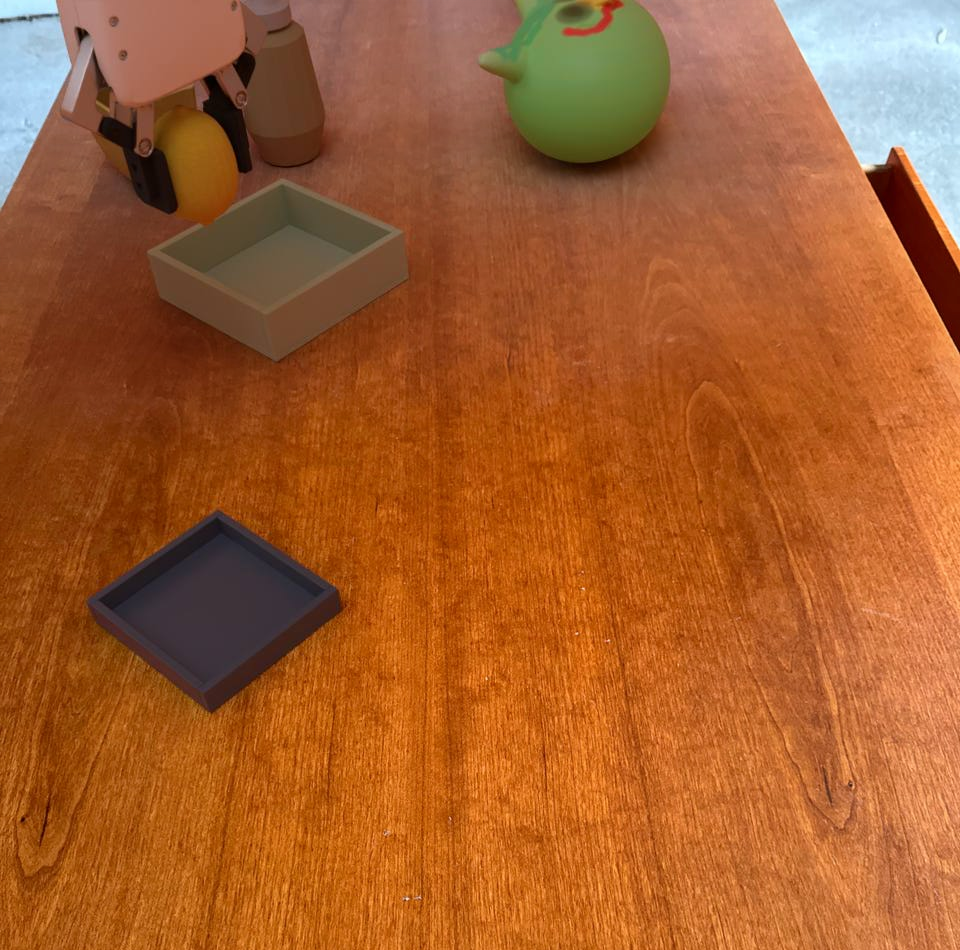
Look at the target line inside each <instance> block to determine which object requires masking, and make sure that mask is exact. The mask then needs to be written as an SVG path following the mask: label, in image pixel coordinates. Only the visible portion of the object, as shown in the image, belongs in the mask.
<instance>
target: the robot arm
mask: <svg viewBox="0 0 960 950" xmlns="http://www.w3.org/2000/svg"><path fill="white" fill-rule="evenodd" d="M55 4H56V9H57V13H58V18H59V22H60V27H61V31H62V36H63V39H64V43H65V47H66V50H67V55H68V58H69V62H70V66H71V73H70V76H69V79H68V82H67V86H66V87H65V88H66V89H65V92H64V94H63V98H62V101H61V104H60V108H59V113H60V116H61V117H62V118H63V119H64V120H66V121H68V122H70V123H71V124H74V125H76V126H78V127H81V128H83V129H85V130H86V131H87V130H88V131H90V132H91V131H92V132H94V133H95V134H97V135H99V136H101V137H103V138H105V139H107V140H108V141H110V142H112V143H113V144H115V145H117V146H120V147H121V148H122V149H123V152H124V156H125V159H126V163H127V166H128V170H129V173H130V177H131V184H132V187H133V190H134V193H135V194H136V196H137V198H138V199H140V201H141V202H143V204H146V205H148V206H150V207H152V208H154V209H156V210H159V211H160V212H163V213H164V214H167V215H169V216H170V215H172V214H174V212H176V211H177V208H178V203H177V199H176V195H175V191H174V187H173V183H172V180H171V176H170V172H169V168H168V164H167V161H166V157H165V154H164V153H163V152H162V151H161V150H159V149H157V148H154V105H155V101H156V100H158V99H160V98H162V97H165V96H167V95H169V94H171V93H173V92H175V91H177V90H180V89H182V88H184V87H186V86H188V85H190V84H192V83H193V84H194V83H196V82H198V81H199V83H200V84H201V86H202V88H203V90H204V92H205V93H206V95H207V96H208V99H205V100H203V101H202V111H203V112H204V113H206V114H208V115H210V116H211V117H212V118H214V119H215V120H216V121H217V122H218V124H219V125H220V126H221V127H222V128H223V130H224V131H225V133H226V135H227V137H228V139H229V141H230V143H231V145H232V148H233V151H234V154H235V158H236V162H237V167H238V173H240V174H244V175H245V174H249V172H252V171H253V168H254V167H253V162H252V158H251V153H250V141H249V136H248V131H247V129H246V126H245V121H244V112H243V108H244V107H246V105H247V103H248V99H249V98H248V93H247V91H246V89H247V87H248V84H249V82H250V79H251V77H252V74H253V72H254V69H255V66H256V61H255V57H256V56H258V54H259V52H260V50H261V47H262V45H263V43H264V41H265V38H266V36H267V33H268V27H267V25H266V23H265V22H264V21H263V20H261V19H260V18H259V17H258V16H257V15H256V14H254V13H253V12H252V11H251V10H250V9H249V8H247V7H246V6H245V5H244V4H243V2H242V1H240V0H55ZM108 89H110V116H108V115H106V114H104V113H102V112H100V111H99V110H98V109H97V107H96V99H97V96H98V93H99V92H101V91H105V90H108ZM131 109H132V128H131ZM92 132H91V133H92Z"/></svg>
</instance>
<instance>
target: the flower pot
mask: <svg viewBox="0 0 960 950" xmlns="http://www.w3.org/2000/svg"><path fill="white" fill-rule="evenodd" d="M195 86H196V85H195V84H194V83H192V84H190V85H188V86H186V87H184V88H182V89H180V90H177V91H175V92H173V93H171V94H169V95H167V96H165V97H162V98H160V99H158V100H156V101H155V105H154V125H155V123H156V122H157V121H158V119H159V118H160V117H161V116H163V115H164V114H165V113H167V112H168V111H170V110H172V108H173V106H175V105H178V104H182V105H184V106H185V107H188V108H194V109H198V108H197V107H198V106H197V97H196V89H195V88H196V87H195ZM96 107H97V109H98V110H99V111H100V112H102V113H104V114H106V115H108V116H110V89H108V90H105V91H101V92H99V93H98V96H97V99H96ZM131 128H132V109H131ZM90 132H91V134H92V136H93V138H94V140H95V142H96V144H97V146H99V148H100V150H101V151H102V153H103V154H104V155H105V156H106V158H107V159H108V160H109V161H110V162H111V164H112V165H113V166H114V167H115V168H116V169H117V170H118V171H119V172H120V173H121V174H122V176H124V177H126V178H127V179H129V180H131V177H130V173H129V170H128V166H127V163H126V159H125V156H124V152H123V149H122V148H121V147H120V146H117V145H115V144H113V143H112V142H110V141H108V140H107V139H105V138H103V137H101V136H99V135H97V134H95V133H94V132H92V131H90ZM131 181H132V180H131Z"/></svg>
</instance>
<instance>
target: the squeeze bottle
mask: <svg viewBox="0 0 960 950" xmlns="http://www.w3.org/2000/svg"><path fill="white" fill-rule="evenodd" d="M242 3H243V4H244V5H245V6H246V7H247V8H249V9H250V10H251V11H252V12H253V13H254V14H256V15H257V16H258V17H259V18H260V19H261V20H263V21H264V22H265V23H266V25H267V27H268V33H267V36H266V38H265V41H264V43H263V45H262V47H261V50H260V52H259V54H258V56H256V57H255V61H256V66H255V69H254V72H253V74H252V77H251V79H250V82H249V84H248V87H247V89H246V91H247V93H248V98H249V99H248V103H247V105H246V107H244V108H243V109H242V111H243V116H244V121H245V126H246V131H247V133H248V134H249V136H250V137H251V139H252V141H253V142H254V145H255V147H256V148H257V150H258V152H259V154H260V155H261V157H262V159H263V160H264V161H265V162H266V163H268V164H271V165H272V166H278V167H291V166H298V165H302V164H304V163H309V161H311V160H313V159H315V158H316V157H317V156H318V155H319V154H320V152H321V148H322V147H321V146H322V140H323V134H324V128H325V127H324V126H325V121H326V109H325V106H324V102H323V98H322V95H321V91H320V87H319V83H318V79H317V75H316V71H315V67H314V63H313V59H312V55H311V51H310V47H309V44H308V40H307V36H306V32H305V28H304V26H302V25H301V24H299V22H297V21H296V20H294V19H293V17H292V10H291V4H290V0H244V1H243V2H242Z"/></svg>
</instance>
